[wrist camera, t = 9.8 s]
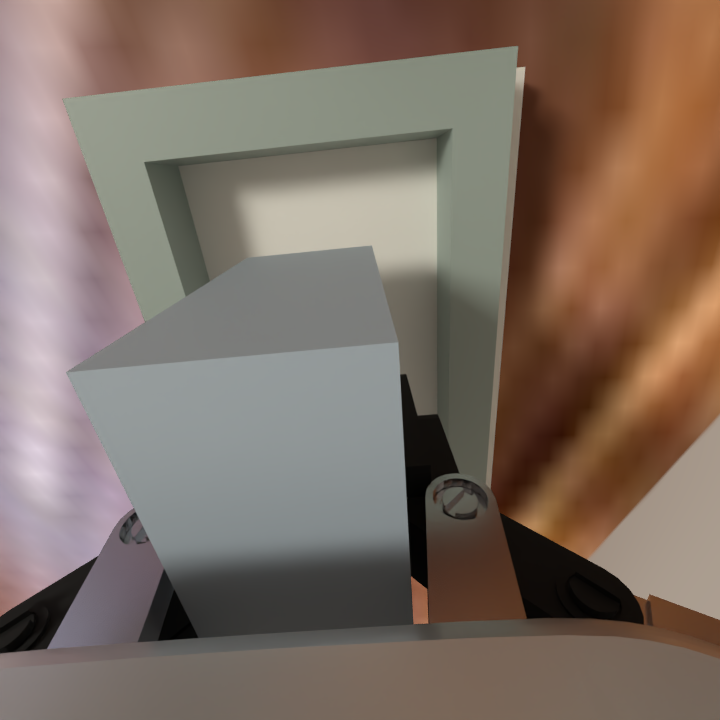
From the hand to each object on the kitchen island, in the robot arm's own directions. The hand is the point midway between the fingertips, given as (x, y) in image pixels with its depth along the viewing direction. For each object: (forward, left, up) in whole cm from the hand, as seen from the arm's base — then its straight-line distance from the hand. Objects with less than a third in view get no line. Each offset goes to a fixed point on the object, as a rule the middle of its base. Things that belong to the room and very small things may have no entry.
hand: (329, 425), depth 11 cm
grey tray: (0, 0, -5) cm, 5 cm away
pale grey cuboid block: (0, 0, -1) cm, 1 cm away
